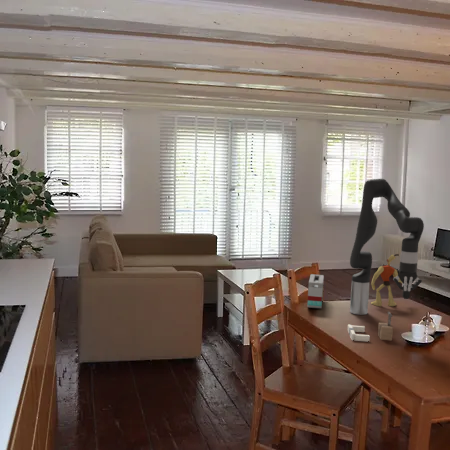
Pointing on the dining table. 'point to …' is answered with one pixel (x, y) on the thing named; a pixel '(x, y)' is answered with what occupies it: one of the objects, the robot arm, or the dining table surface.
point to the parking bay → (356, 336)
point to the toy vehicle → (315, 291)
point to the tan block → (385, 329)
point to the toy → (385, 281)
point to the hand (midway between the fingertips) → (405, 298)
